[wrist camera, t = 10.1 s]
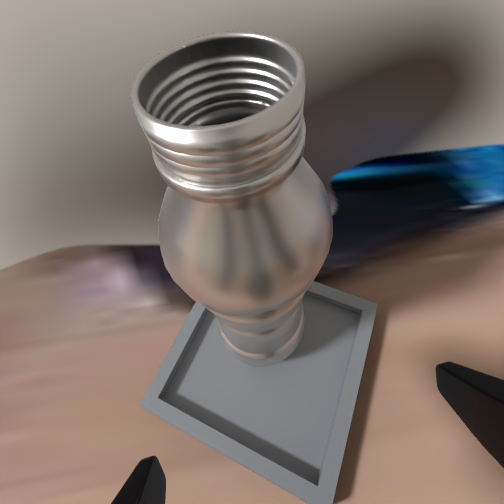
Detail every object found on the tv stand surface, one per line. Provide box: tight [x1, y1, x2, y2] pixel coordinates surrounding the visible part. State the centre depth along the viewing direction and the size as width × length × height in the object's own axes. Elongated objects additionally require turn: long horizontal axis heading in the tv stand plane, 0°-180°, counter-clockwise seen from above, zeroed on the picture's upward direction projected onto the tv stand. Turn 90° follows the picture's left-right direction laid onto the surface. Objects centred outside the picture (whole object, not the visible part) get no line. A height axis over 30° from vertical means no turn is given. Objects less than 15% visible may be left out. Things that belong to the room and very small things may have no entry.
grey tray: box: [139, 281, 378, 504], centre depth 22 cm, size 14×14×2 cm
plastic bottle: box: [131, 31, 333, 367], centre depth 14 cm, size 6×7×20 cm
